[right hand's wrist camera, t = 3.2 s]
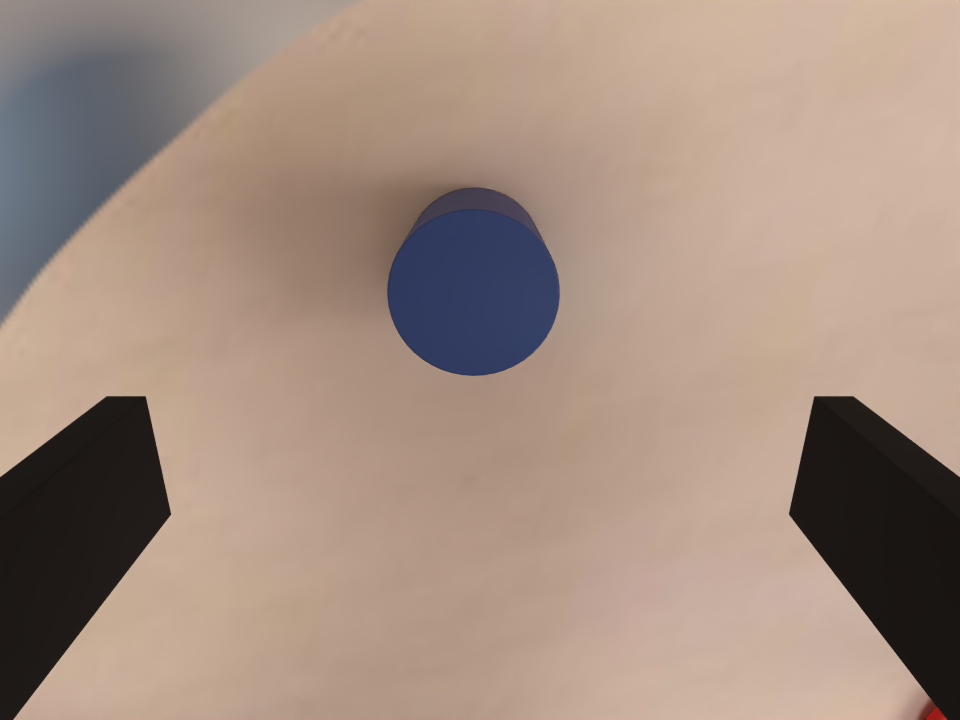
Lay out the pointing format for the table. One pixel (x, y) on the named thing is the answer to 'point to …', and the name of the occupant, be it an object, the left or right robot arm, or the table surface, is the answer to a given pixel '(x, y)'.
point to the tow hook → (936, 715)
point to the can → (473, 284)
